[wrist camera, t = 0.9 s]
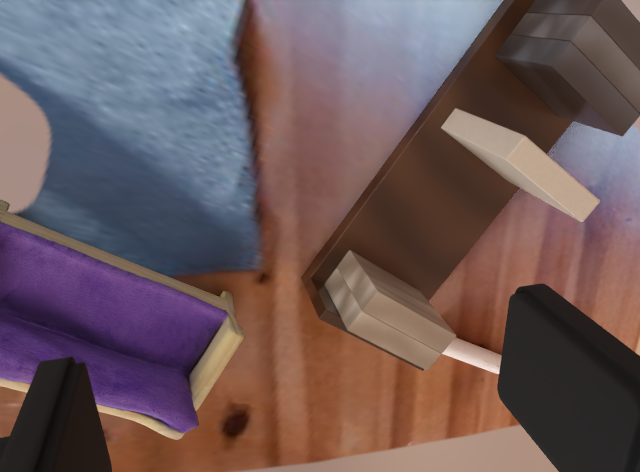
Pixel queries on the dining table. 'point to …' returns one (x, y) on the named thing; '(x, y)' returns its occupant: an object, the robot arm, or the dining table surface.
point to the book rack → (470, 166)
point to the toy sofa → (110, 326)
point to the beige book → (521, 163)
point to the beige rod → (474, 355)
